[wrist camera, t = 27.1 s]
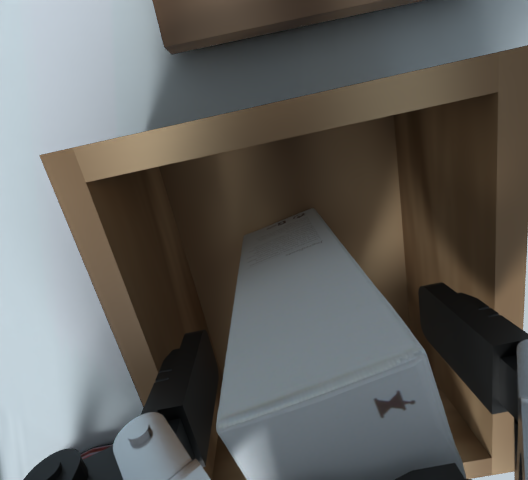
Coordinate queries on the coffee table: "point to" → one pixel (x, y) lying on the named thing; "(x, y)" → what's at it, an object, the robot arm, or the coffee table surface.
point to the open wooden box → (327, 206)
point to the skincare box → (323, 367)
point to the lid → (248, 18)
